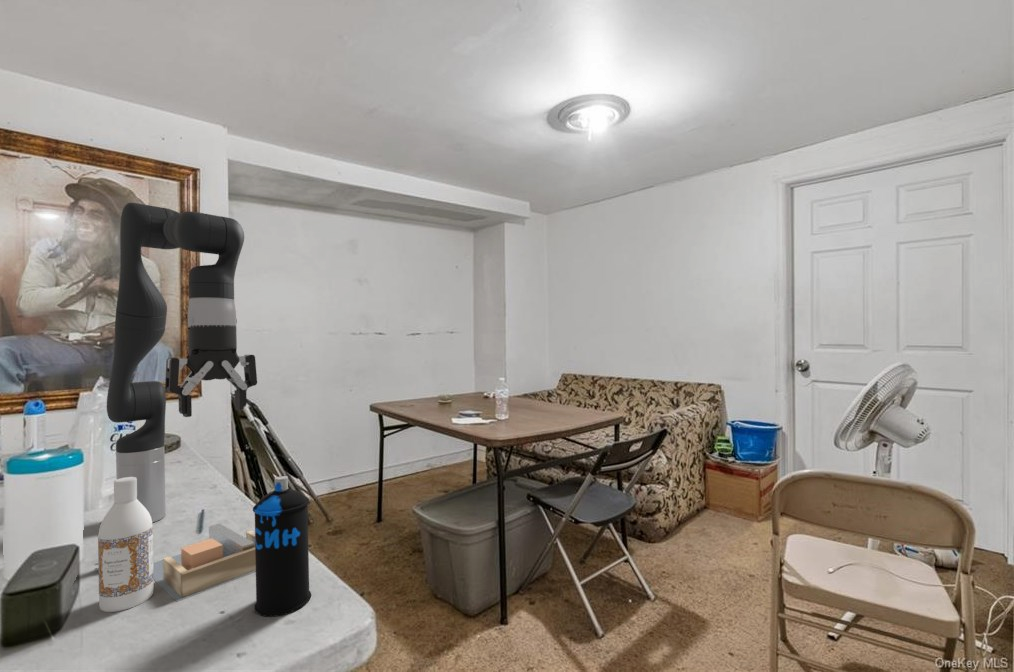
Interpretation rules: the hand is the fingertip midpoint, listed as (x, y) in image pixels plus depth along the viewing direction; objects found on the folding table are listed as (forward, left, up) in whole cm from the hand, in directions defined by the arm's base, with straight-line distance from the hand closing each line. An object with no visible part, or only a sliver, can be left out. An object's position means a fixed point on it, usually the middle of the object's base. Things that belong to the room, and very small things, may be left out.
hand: (214, 413), depth 86 cm
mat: (-5, +1, -29) cm, 30 cm away
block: (-2, -2, -29) cm, 29 cm away
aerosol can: (+19, +3, -30) cm, 35 cm away
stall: (-1, +1, -29) cm, 29 cm away
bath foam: (-2, -12, -30) cm, 32 cm away
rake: (-5, 0, -29) cm, 30 cm away
